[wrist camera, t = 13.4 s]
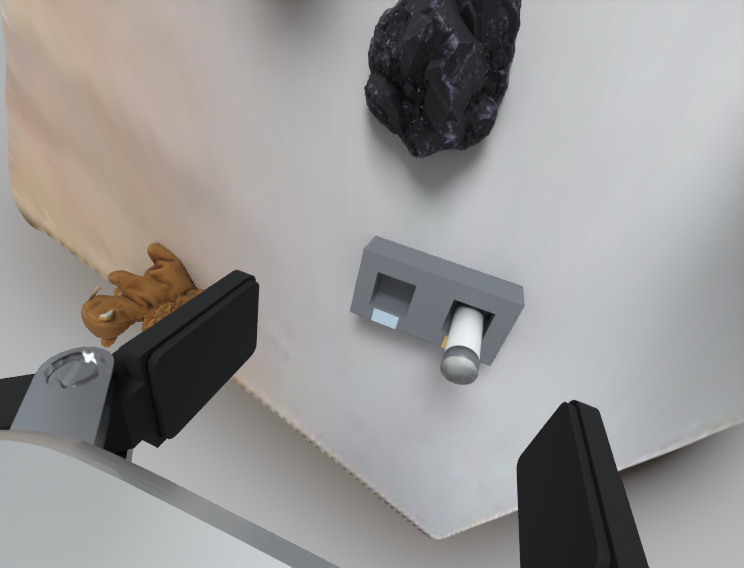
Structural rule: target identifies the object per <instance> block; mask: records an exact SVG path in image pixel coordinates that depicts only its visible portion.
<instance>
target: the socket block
mask: <svg viewBox="0 0 744 568" xmlns="http://www.w3.org/2000/svg"><path fill="white" fill-rule="evenodd" d="M457 301H460V302H463V303H465V304H468V305H471V306H474V307H477V308H479V309H482V310H485V312H484V322H483V331H482V340H481V350H480V359H479V362H482V363H484V364H487V365H489V366H491V364H492V362H493V361H494V359H495V357H496V355H497V354H498V352H499V350H500V348H501V346H502V345H503V343H504V341H505V339H506V338H507V336H508V334H509V332H510V331H511V329H512V327H513V325H514V324H515V322H516V320H517V318H518V316H519V315H520V313H521V311H522V309H523V308H524V306H525V304H524V295H523V286H520V285H517V284H514V283H511V282H508V281H505V280H502V279H499V278H496V277H494V276H491V275H488V274H485V273H482V272H479V271H476V270H473V269H470V268H467V267H464V266H462V265H459V264H456V263H453V262H450V261H447V260H444V259H441V258H438V257H435V256H432V255H430V254H427V253H424V252H421V251H418V250H415V249H412V248H409V247H406V246H403V245H400V244H398V243H395V242H392V241H389V240H386V239H383V238H380V237H377V236H375V237H374V238H373V239H372V241H371V242H370V243H369V244H368V245H367V246H366V247H365V249H364V252H363V256H362V260H361V265H360V269H359V273H358V278H357V282H356V287H355V291H354V295H353V300H352V304H351V309H350V312H352V313H354V314H357V315H360V316H362V317H365V318H367V319H370V320H372V321H375V322H378V323H380V324H383V325H385V326H388V327H391V328H393V329H396V330H399V331H401V332H404V333H406V334H409V335H412V336H414V337H417V338H419V339H422V340H425V341H427V342H430V343H432V344H435V345H437V346H440V347H443V348H446V343H447V339H448V335H449V331H450V327H451V323H452V319H453V315H454V311H455V307H456V303H457Z"/></svg>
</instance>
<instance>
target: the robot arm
mask: <svg viewBox="0 0 744 568" xmlns="http://www.w3.org/2000/svg"><path fill="white" fill-rule="evenodd" d="M258 301H259V284H258V283H257V282H256V279H255V277H254V276H252V275H250V274H247V273H245V272H242V271H239V270H235V271H233V272H231V273H230V274H228V275H227V276H225V277H224V278H222V279H221V280H219V281H218V282H216V283H215V284H213V285H212V286H210V287H209V288H207V289H206V290H204V291H203V292H201V293H200V294H198V295H197V296H195V297H194V298H192V299H191V300H189V301H188V302H186V303H185V304H183V305H182V306H180V307H179V308H177V309H176V310H175V311H173V312H172V313H170V314H169V315H167V316H166V317H164V318H163V319H161V320H160V321H158V322H157V323H155V324H154V325H152V326H151V327H149V328H148V329H146V330H145V331H143V332H142V333H140V334H139V335H137V336H136V337H135V338H133V339H131V340H130V341H128V342H127V343H125V344H124V345H122V346H121V347H120V348H119V350H117V351H116V352H114V353H113V354H111V353H110V352H109V351H107V350H105V349H103V348H98V347H79V348H74V349H70V350H67V351H64V352H61V353H59V354H57V355H55V356H53V357H51V358H49V359H48V360H47V361H46V362H45V363H43V364H42V365H41V366H40V368H39V369H38V370H37V372H36V373H35V374H30V375H23V376H17V377H10V378H4V379H0V568H340V567H338V566H336V565H334V564H332V563H330V562H328V561H326V560H324V559H322V558H320V557H318V556H316V555H314V554H313V553H311V552H309V551H307V550H305V549H303V548H301V547H299V546H297V545H295V544H293V543H291V542H289V541H287V540H285V539H283V538H281V537H279V536H277V535H275V534H274V533H272V532H270V531H268V530H266V529H264V528H262V527H260V526H258V525H256V524H254V523H252V522H250V521H248V520H246V519H244V518H242V517H240V516H238V515H236V514H234V513H232V512H230V511H228V510H226V509H224V508H222V507H220V506H218V505H217V504H214V503H212V502H211V501H209V500H206V499H205V498H203V497H201V496H199V495H197V494H195V493H193V492H191V491H189V490H187V489H185V488H183V487H181V486H179V485H177V484H175V483H173V482H171V481H169V480H167V479H165V478H163V477H161V476H159V475H157V474H155V473H153V472H150V471H149V470H146V469H144V468H142V467H140V466H138V465H136V464H134V463H132V462H131V460H132V453H133V448H135V446H136V445H138V443H140V442H141V441H142V440H143V441H146V442H147V443H149V444H151V445H153V446H155V447H157V448H158V447H159V446H160V445H161V444H162V443H163V442H164V441H165V440H166V439H172V438H173V437H175V436H176V435H177V434H178V433H179V432H180V431H181V430H182V429H183V428H184V427H185V426H186V424H187V423H188V422H189V421H190V420H191V419H192V418H193V417H194V416H195V415H196V414H197V413H198V412H199V411H200V410H201V409H202V408H203V406H204V405H205V404H206V403H207V402H208V401H209V400H210V399H211V398H212V397H213V396H214V395H215V394H216V393H217V392H218V390H219V389H220V388H221V387H222V386H223V385H224V384H225V383H226V382H227V381H228V380H229V379H230V378H231V377H232V376H233V375H234V374H235V373H236V372H237V370H238V369H239V368H240V367H241V366H242V365H243V364H244V363H245V362H246V361H247V360H248V359H249V358H250V357H251V356H252V354H253V353H254V351H255V348H256V343H257V322H258ZM517 492H518V518H519V542H520V543H519V544H520V567H521V568H649V566H648V563H647V560H646V557H645V553H644V550H643V547H642V544H641V540H640V537H639V534H638V531H637V527H636V524H635V521H634V518H633V515H632V511H631V508H630V505H629V501H628V498H627V495H626V492H625V488H624V485H623V482H622V480H621V477H620V475H619V474H618V471H617V467H616V464H615V461H614V457H613V454H612V451H611V448H610V444H609V441H608V438H607V434H606V431H605V428H604V425H603V421H602V418H601V415H600V412H599V410H598V409H597V408H594V407H592V406H589V405H587V404H584V403H581V402H579V401H576V400H572V401H570V402H569V403H566V402H563V403H562V404H561V405H560V406H559V407H558V409H557V410H556V411H555V412H554V414H553V415H552V416H551V418H550V419H549V420H548V421H547V423H546V424H545V425H544V426H543V428H542V429H541V430H540V431H539V433H538V434H537V435H536V437H535V438H534V439H533V440H532V442H531V443H530V444H529V445H528V447H527V448H526V449H525V451H524V452H523V453H522V454H521V456H520V457H519V460H518V463H517Z"/></svg>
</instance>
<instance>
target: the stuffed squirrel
mask: <svg viewBox="0 0 744 568" xmlns="http://www.w3.org/2000/svg"><path fill="white" fill-rule="evenodd" d="M148 255H149V256H150V258H151V260H152V261H153V262H154V264H155V265H154V266H152V267H151V268H149V269H148V270H147V271H145V272H144V273H143V274H142V275H141V276H138V275H135V274H132V273H130V272H127V271H121V270H120V271H114V272H111V273H110V274H109V282H110V283H112V284H114V285H116V286H118V287H117V288H116V289H115V290H114V296H105V295H97V296H95V295H96V293H97V292H98V291H99V290H100V289H101V288H100V287H96V289H95V290H94V292H95V291H96V290H97V289H98V290H97V291H96V292H95V293H94V292H93V293H92V294H91V296H90V298H89V300H88V301H87V302H86V303H85V304H84V305H83V306H82V310H81V314H82V319H83V322H84V324H85V326H86V327H87V328H88V329H89V330H90V331H91V332H92V333H93V334H94V335H96V337H99V338H102V339H101V345H102V346H104V347H106V348H107V347H110V346H111V345H112V344H113V343H114V342H115V340H116V339H117V336H119V335H120V334H122V333H123V332H124V331H125V330H126V329H128V328H129V326H130V325H132V324H134V323H135V322H141V321H143V324H142V325H143V327H142V331H145V330H146V329H148V328H149V327H151V326H152V325H154V324H155V323H157V322H158V321H160V320H161V319H163V318H164V317H166V316H167V315H169V314H170V313H172V312H173V311H175V310H176V309H177V308H179V307H180V306H182V305H183V304H185V303H186V302H188V301H189V300H191V299H192V298H194V297H195V296H197V295H198V294H200V293H201V292H203V291H204V290H202V289H197V288H195V286H194V285H193V284H192V283H191V280H190V278H189V276H188V274H187V272H186V270H185V268H184V267H183V265H182V263H181V262H180V260H179V259H178V258H177V257H176V256H175V255H173V254H172V253H171V252H170V251H168V250H167V249H166V248H164V247H163V246H161V245H160V244H158V243H152V244H150V245H149V246H148ZM94 296H95V297H94ZM93 297H94V298H93Z"/></svg>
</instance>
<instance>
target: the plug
mask: <svg viewBox="0 0 744 568" xmlns="http://www.w3.org/2000/svg"><path fill="white" fill-rule="evenodd" d="M484 312H485V310H482V309H479V308H477V307H474V306H471V305H468V304H465V303H463V302H460V301H457V303H456V307H455V311H454V315H453V319H452V323H451V327H450V331H449V335H448V339H447V343H446V348H445V352H444V355H443V359H442V363H441V372H442V374H443V376H444V377H445V378H446V379H447V380H449V381H450V382H452V383H455V384H459V385H466V384H470V383H472V382H474V381H475V380H476V378H477V376H478V370H479V359H480V350H481V340H482V331H483V322H484Z"/></svg>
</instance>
